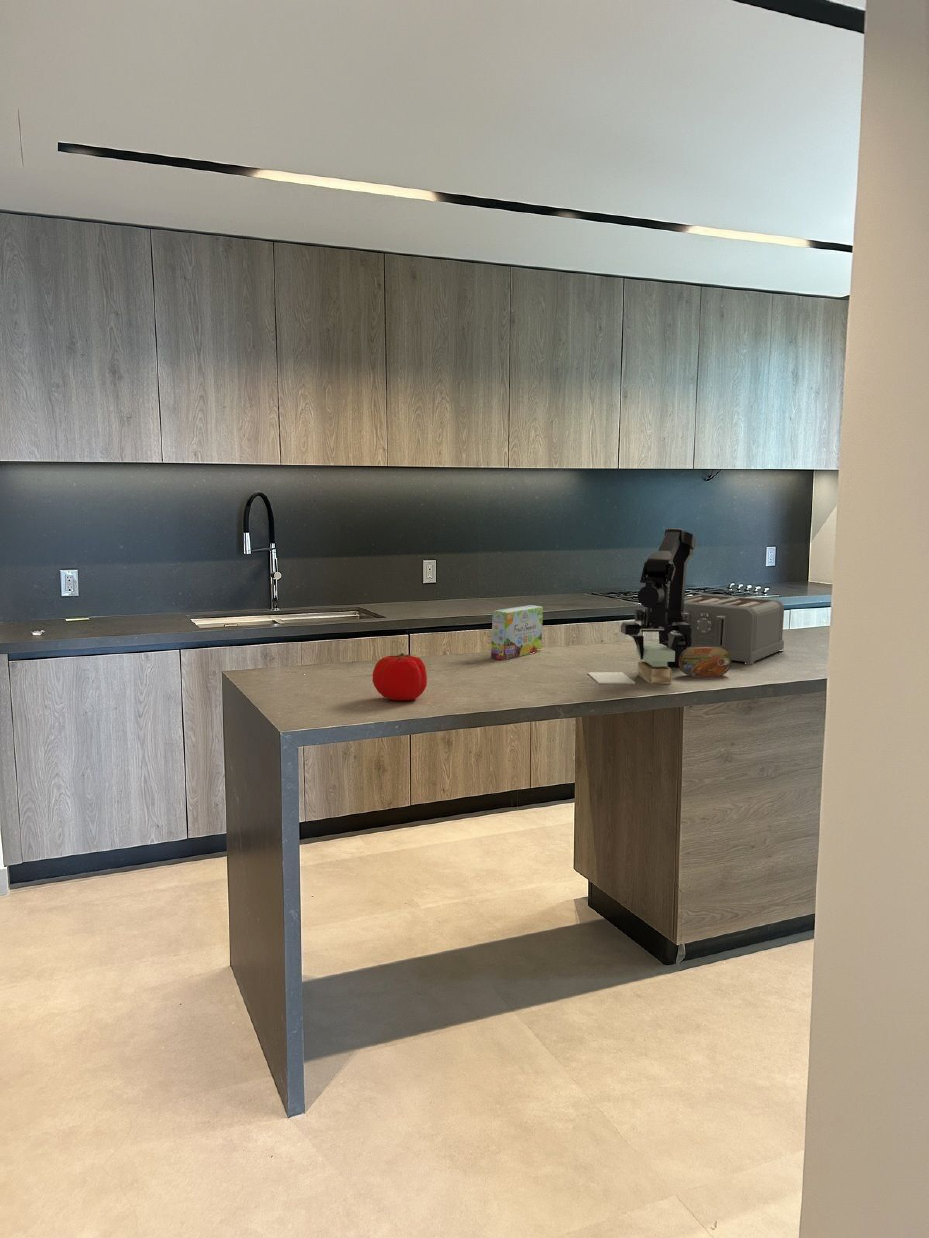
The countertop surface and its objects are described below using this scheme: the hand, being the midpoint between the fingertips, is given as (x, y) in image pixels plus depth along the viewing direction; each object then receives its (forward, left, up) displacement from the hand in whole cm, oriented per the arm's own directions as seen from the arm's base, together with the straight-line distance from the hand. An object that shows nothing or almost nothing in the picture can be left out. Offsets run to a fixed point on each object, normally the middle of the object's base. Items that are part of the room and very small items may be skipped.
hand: (654, 659), depth 256 cm
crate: (0, 0, -6) cm, 6 cm away
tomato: (+71, +23, -6) cm, 75 cm away
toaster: (-34, -42, -6) cm, 54 cm away
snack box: (+33, -38, -6) cm, 51 cm away
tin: (-16, -5, -6) cm, 18 cm away
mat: (+12, -1, -6) cm, 13 cm away
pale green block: (0, 0, -1) cm, 1 cm away
